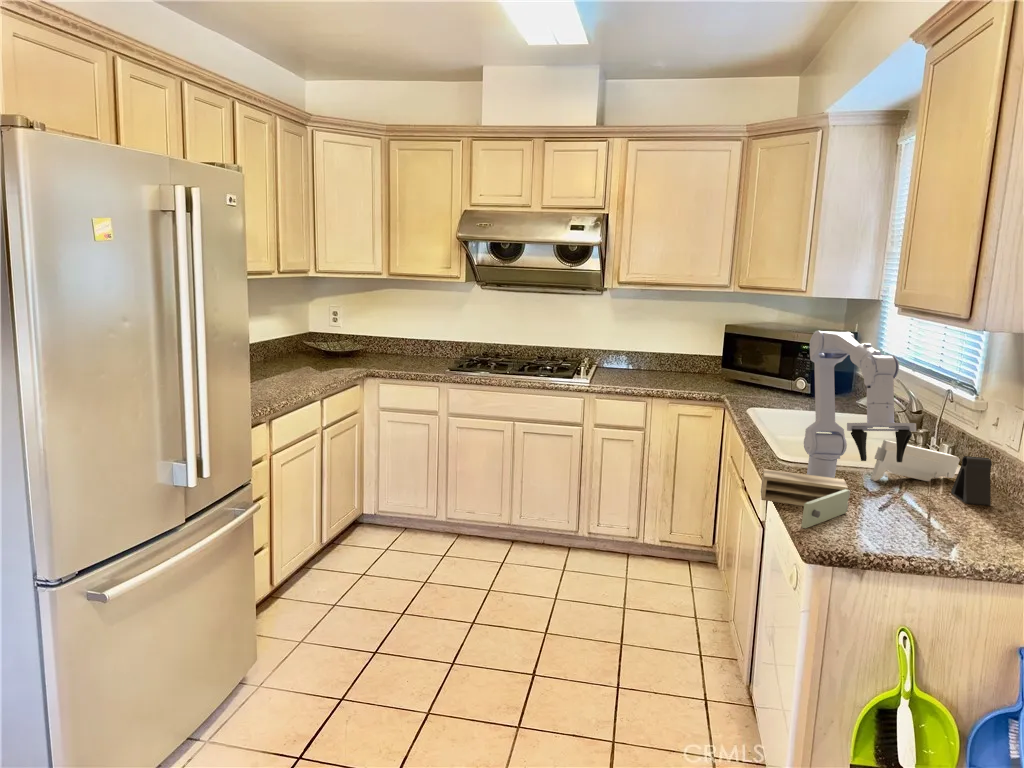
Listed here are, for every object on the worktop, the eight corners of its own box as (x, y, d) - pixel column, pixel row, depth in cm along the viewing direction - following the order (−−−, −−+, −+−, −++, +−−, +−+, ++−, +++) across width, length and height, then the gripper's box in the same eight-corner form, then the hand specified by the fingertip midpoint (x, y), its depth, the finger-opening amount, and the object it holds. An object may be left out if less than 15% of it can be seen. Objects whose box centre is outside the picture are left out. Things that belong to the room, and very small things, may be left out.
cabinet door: (801, 526, 158) (804, 503, 157) (844, 510, 170) (847, 488, 169) (810, 530, 157) (813, 506, 156) (852, 513, 168) (856, 491, 167)
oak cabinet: (760, 491, 183) (763, 468, 182) (840, 502, 177) (843, 479, 176) (761, 499, 177) (764, 476, 175) (844, 511, 170) (847, 487, 169)
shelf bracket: (865, 477, 200) (879, 437, 198) (935, 492, 205) (949, 453, 203) (877, 483, 195) (892, 442, 193) (949, 498, 199) (963, 459, 197)
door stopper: (990, 506, 179) (998, 463, 177) (965, 503, 180) (973, 461, 178) (974, 494, 188) (981, 453, 185) (950, 492, 189) (957, 452, 186)
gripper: (842, 404, 162) (843, 460, 161) (910, 403, 152) (912, 462, 151) (851, 406, 167) (852, 460, 166) (917, 405, 158) (919, 463, 156)
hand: (881, 461), depth 159 cm, fingers open, 7 cm apart
